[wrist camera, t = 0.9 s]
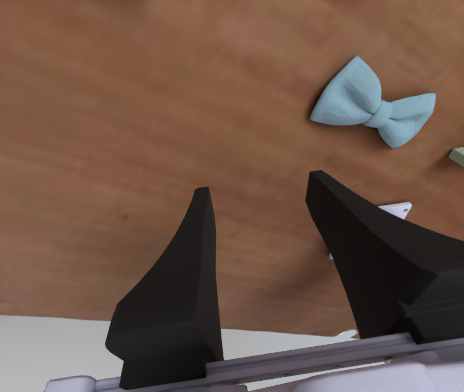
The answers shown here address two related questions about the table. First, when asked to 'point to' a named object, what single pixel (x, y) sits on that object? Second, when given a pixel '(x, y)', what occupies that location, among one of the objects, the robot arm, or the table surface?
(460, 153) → the bay
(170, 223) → the table surface
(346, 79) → the bow tie
